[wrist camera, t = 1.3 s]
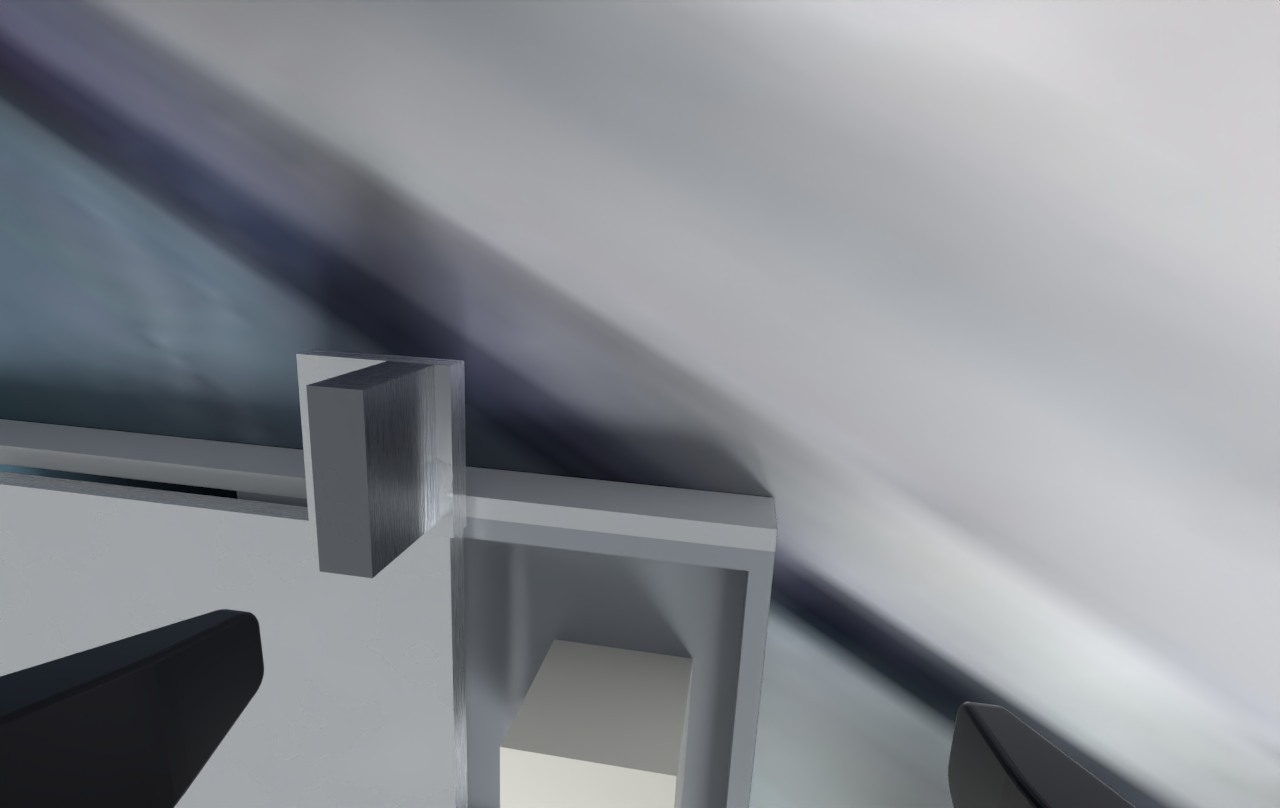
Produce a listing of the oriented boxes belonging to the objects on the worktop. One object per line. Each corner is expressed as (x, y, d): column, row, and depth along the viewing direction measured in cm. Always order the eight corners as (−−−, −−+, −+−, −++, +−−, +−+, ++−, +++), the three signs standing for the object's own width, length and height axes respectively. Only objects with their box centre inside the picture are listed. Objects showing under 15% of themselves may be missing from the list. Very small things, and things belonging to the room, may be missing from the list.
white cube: (693, 658, 19) (676, 776, 15) (683, 779, 20) (666, 922, 16) (554, 639, 20) (500, 746, 16) (551, 757, 21) (500, 889, 17)
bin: (774, 498, 18) (777, 529, 16) (733, 902, 22) (731, 971, 20) (-118, 406, 23) (-206, 422, 21) (-39, 754, 26) (-109, 797, 24)
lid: (464, 360, 16) (382, 391, 13) (472, 910, 20) (411, 1055, 17) (-39, 321, 19) (-231, 339, 15) (58, 825, 23) (-76, 936, 19)
